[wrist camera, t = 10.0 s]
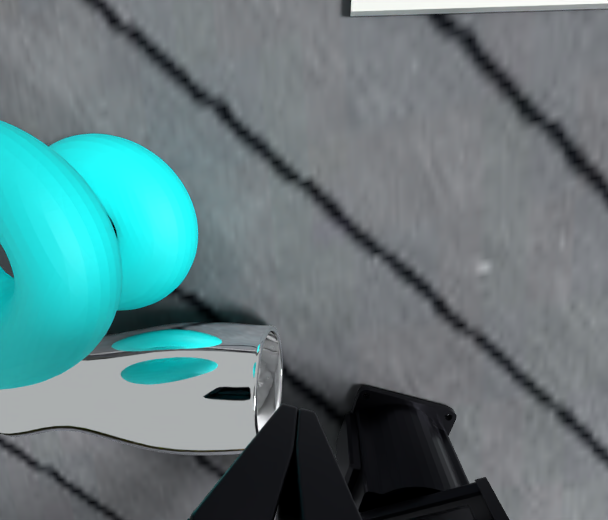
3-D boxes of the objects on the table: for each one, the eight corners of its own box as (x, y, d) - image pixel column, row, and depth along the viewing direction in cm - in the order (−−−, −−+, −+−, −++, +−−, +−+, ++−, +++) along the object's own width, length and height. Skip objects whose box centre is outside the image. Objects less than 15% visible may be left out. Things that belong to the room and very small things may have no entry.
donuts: (-28, 40, 8) (133, 377, 10) (168, 113, 17) (228, 278, 20) (-300, 157, 9) (-104, 429, 12) (20, 165, 19) (92, 313, 21)
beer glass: (94, 376, 24) (287, 380, 22) (10, 472, 18) (267, 489, 16) (54, 300, 21) (275, 297, 19) (-65, 385, 15) (244, 393, 13)
